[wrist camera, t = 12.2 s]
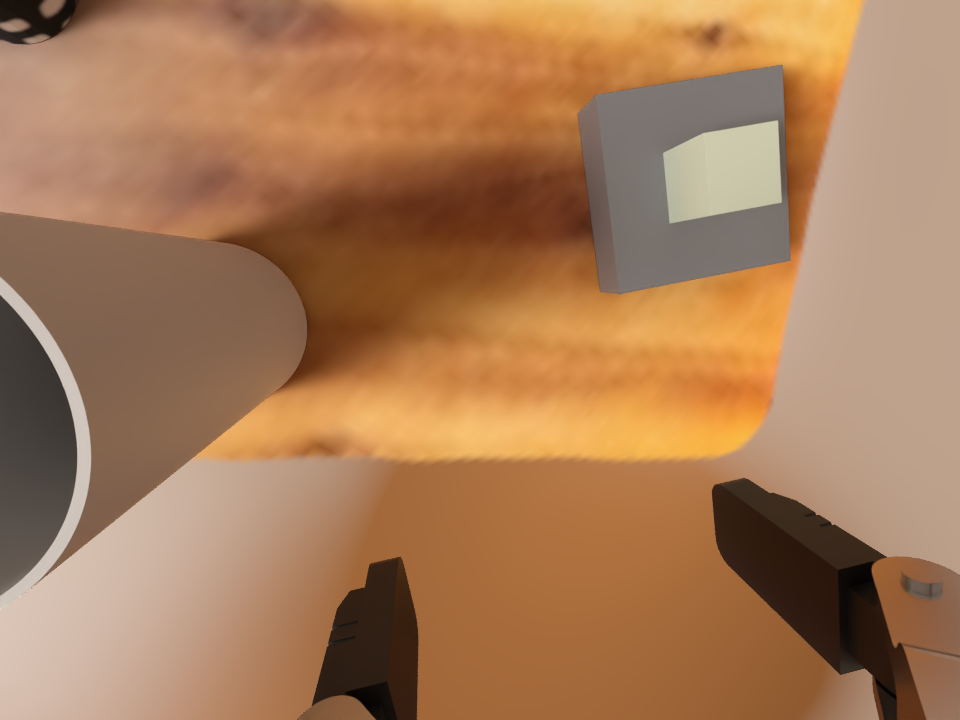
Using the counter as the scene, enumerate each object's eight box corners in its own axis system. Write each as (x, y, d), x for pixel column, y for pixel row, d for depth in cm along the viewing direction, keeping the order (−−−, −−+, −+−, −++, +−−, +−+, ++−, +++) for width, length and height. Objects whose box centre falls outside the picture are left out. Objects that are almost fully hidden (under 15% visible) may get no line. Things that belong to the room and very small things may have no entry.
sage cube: (663, 153, 34) (702, 133, 29) (727, 141, 34) (778, 120, 29) (669, 223, 35) (709, 215, 30) (732, 211, 35) (781, 202, 30)
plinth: (577, 113, 36) (595, 94, 33) (745, 86, 38) (782, 64, 34) (600, 291, 39) (619, 294, 35) (755, 261, 40) (790, 260, 36)
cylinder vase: (305, 244, 36) (54, 190, 12) (313, 401, 38) (117, 630, 14) (130, 240, 35) (-575, 168, 10) (150, 403, 37) (-387, 662, 13)
